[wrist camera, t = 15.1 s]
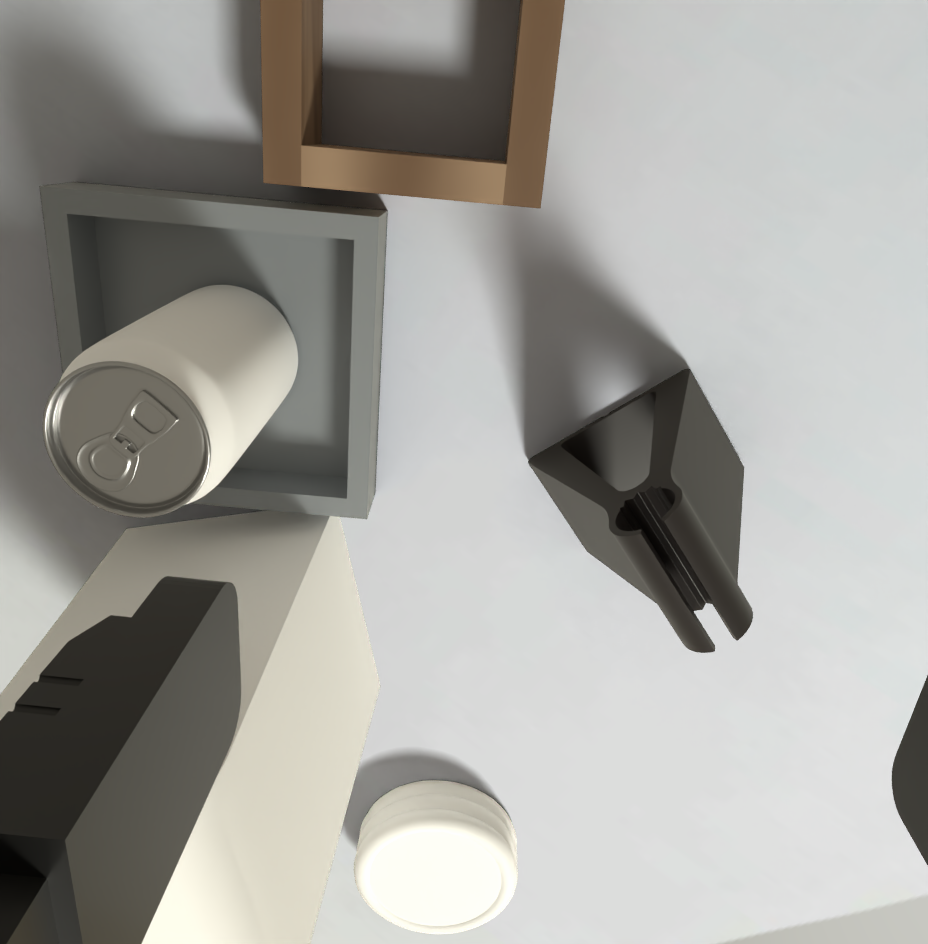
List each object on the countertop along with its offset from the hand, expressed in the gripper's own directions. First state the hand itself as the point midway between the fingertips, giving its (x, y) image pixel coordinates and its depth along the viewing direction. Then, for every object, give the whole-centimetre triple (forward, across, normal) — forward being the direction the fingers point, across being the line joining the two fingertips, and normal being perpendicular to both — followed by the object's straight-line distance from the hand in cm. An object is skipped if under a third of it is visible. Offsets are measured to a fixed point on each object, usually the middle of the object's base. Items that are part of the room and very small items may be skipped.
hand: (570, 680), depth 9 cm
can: (+28, +13, +5) cm, 32 cm away
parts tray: (+29, +13, +5) cm, 32 cm away
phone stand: (+30, -7, +9) cm, 32 cm away
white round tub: (+30, +2, +36) cm, 47 cm away
